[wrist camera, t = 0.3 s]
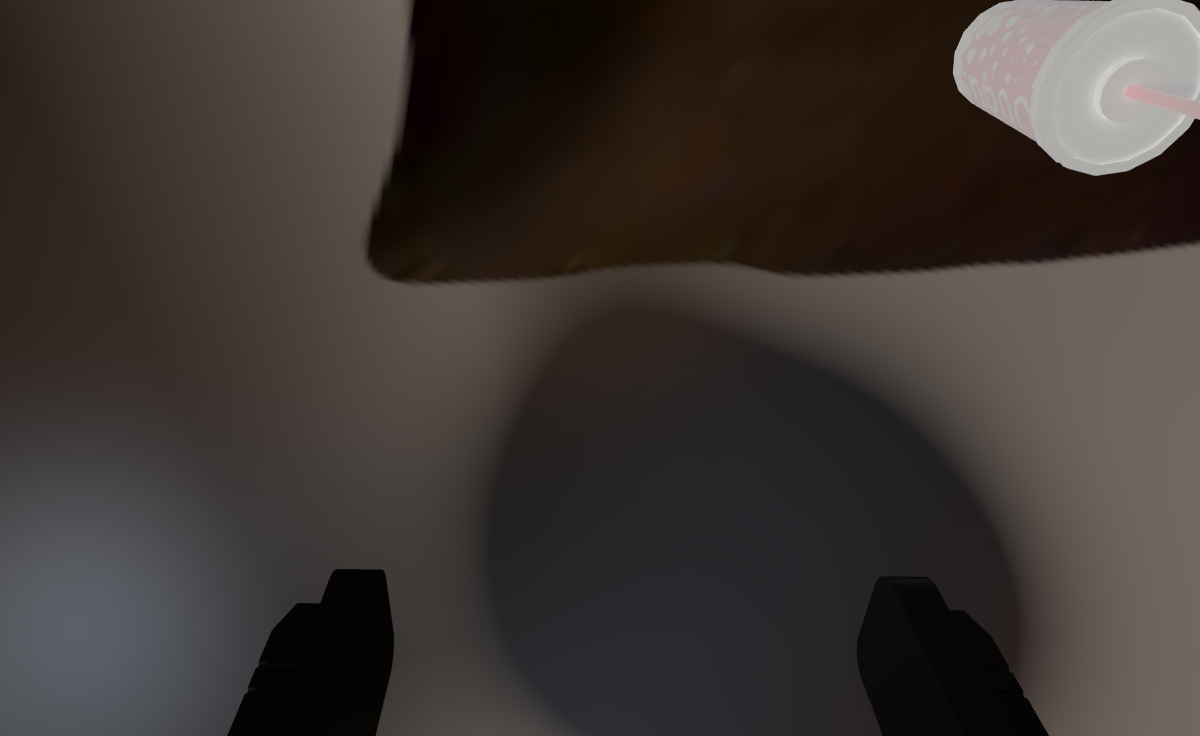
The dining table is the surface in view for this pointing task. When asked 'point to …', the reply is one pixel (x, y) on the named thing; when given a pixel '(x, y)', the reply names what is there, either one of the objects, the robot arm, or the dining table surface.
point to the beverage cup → (1087, 76)
